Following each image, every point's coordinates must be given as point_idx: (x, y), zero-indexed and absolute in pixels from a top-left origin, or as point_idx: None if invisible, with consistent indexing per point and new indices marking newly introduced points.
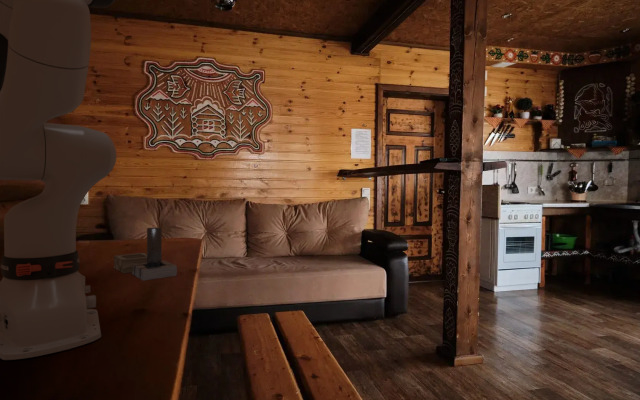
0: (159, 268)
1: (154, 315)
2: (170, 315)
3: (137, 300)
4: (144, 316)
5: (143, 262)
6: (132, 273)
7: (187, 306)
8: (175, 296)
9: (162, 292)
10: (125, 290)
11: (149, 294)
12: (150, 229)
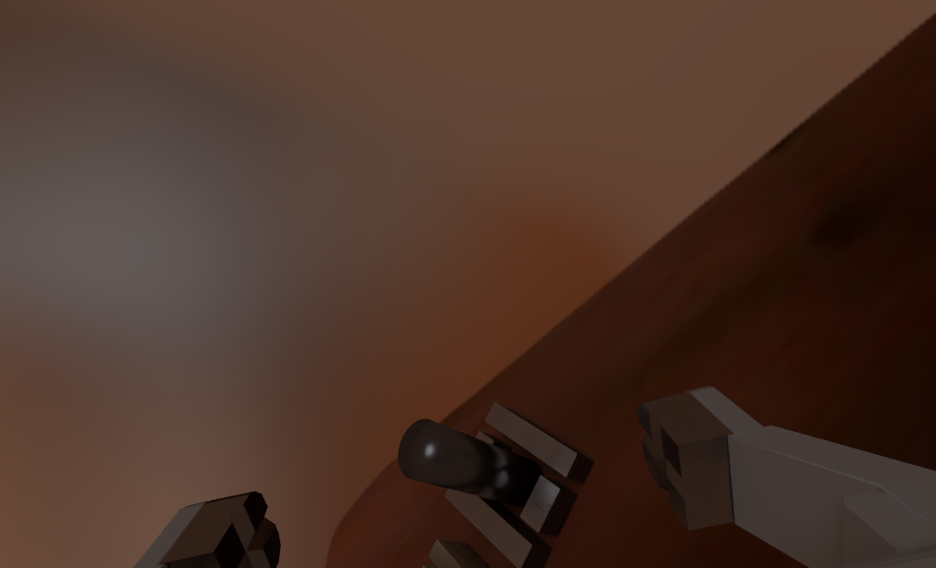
0: (536, 427)
1: (839, 175)
2: (811, 154)
3: (767, 310)
4: (865, 184)
5: (469, 565)
6: (540, 565)
7: (730, 182)
8: (678, 263)
9: (665, 317)
10: None
11: (700, 330)
12: (443, 443)
